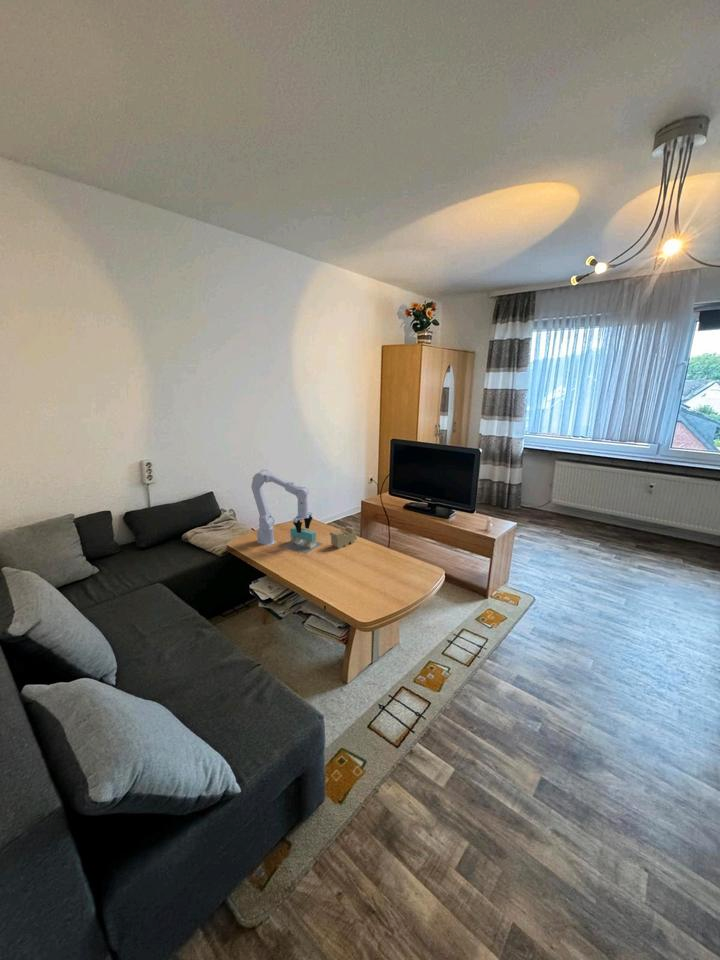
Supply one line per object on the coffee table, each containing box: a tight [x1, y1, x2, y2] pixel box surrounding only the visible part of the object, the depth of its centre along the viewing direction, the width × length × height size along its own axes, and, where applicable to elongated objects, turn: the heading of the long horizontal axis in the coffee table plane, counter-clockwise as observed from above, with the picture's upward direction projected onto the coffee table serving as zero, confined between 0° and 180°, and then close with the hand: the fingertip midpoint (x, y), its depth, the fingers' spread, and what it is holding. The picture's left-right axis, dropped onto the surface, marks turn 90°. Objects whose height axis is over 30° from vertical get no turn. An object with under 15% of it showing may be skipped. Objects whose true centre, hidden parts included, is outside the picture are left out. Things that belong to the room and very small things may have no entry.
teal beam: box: [290, 525, 317, 542], centre depth 225 cm, size 16×4×5 cm, turn 59°
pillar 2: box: [304, 539, 317, 549], centre depth 223 cm, size 5×5×4 cm
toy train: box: [329, 525, 358, 549], centre depth 226 cm, size 6×17×10 cm, turn 136°
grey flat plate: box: [282, 540, 323, 554], centre depth 226 cm, size 18×16×1 cm
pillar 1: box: [290, 535, 303, 545], centre depth 228 cm, size 5×5×4 cm
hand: (303, 530), depth 224 cm, fingers open, 7 cm apart
